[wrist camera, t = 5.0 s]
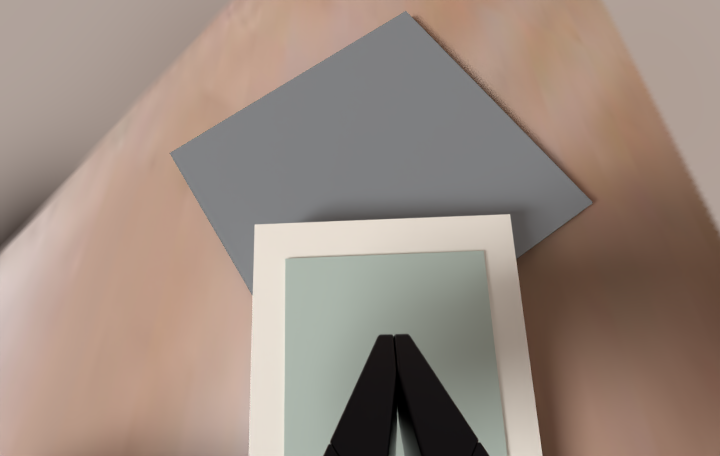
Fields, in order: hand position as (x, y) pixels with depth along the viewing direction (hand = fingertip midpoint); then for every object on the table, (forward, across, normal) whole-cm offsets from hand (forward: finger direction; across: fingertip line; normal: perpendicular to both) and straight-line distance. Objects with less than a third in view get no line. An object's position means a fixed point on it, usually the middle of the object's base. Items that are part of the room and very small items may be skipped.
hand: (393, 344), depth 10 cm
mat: (+13, +1, 0) cm, 13 cm away
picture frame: (+9, 0, +1) cm, 9 cm away
